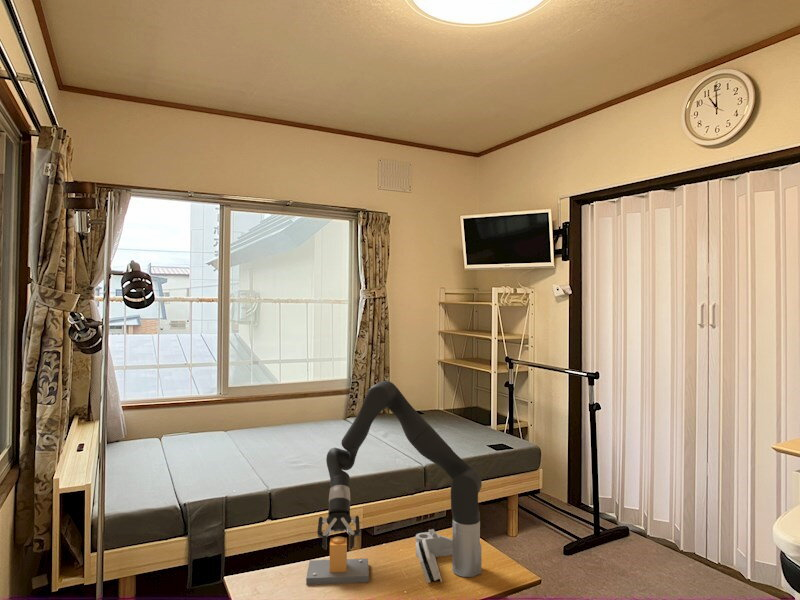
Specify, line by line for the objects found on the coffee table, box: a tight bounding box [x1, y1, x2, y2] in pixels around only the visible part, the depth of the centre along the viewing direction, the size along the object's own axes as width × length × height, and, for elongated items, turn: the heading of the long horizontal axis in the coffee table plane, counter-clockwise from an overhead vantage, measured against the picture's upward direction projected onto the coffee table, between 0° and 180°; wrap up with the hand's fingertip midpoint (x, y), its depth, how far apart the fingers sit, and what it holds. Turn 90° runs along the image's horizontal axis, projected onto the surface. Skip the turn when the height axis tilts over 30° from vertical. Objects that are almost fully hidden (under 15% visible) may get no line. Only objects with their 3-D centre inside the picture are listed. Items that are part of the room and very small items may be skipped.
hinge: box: [415, 539, 443, 584], centre depth 180 cm, size 17×5×10 cm, turn 4°
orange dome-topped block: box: [329, 535, 348, 572], centre depth 178 cm, size 6×6×10 cm
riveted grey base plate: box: [305, 558, 370, 585], centre depth 178 cm, size 20×12×7 cm, turn 95°
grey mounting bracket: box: [415, 528, 453, 558], centre depth 193 cm, size 6×18×8 cm, turn 105°
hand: (338, 548), depth 177 cm, fingers open, 8 cm apart
